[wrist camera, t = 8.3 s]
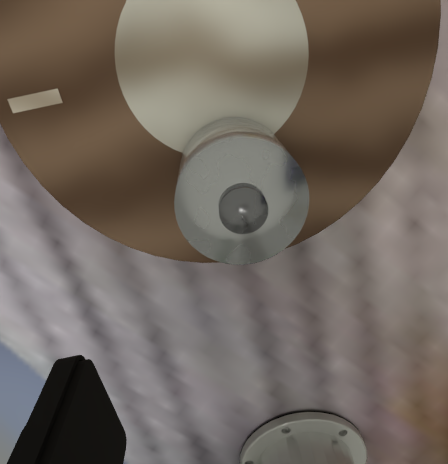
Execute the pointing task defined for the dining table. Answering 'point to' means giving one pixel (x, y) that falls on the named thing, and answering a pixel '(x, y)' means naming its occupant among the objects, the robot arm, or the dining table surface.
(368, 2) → the turntable
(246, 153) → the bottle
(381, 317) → the dining table surface
